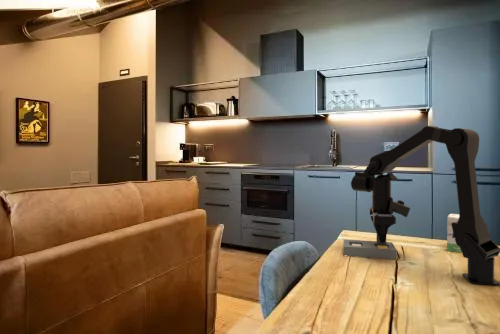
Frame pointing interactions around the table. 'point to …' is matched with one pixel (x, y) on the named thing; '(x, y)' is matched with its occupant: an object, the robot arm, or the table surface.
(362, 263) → the table surface
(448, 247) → the ink box
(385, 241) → the plug
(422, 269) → the table surface
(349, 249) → the port block
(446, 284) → the table surface
